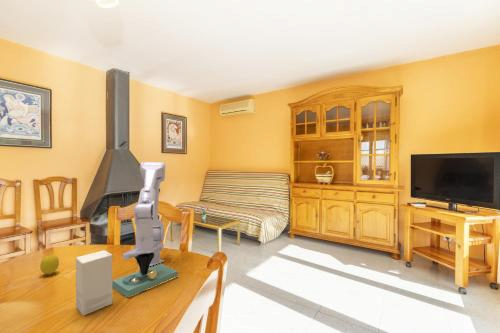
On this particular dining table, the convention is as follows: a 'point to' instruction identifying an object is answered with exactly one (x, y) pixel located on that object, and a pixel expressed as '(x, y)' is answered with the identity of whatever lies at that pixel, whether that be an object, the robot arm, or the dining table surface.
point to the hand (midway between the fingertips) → (144, 273)
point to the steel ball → (135, 280)
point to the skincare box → (93, 281)
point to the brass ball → (152, 274)
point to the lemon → (49, 264)
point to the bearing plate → (143, 280)
